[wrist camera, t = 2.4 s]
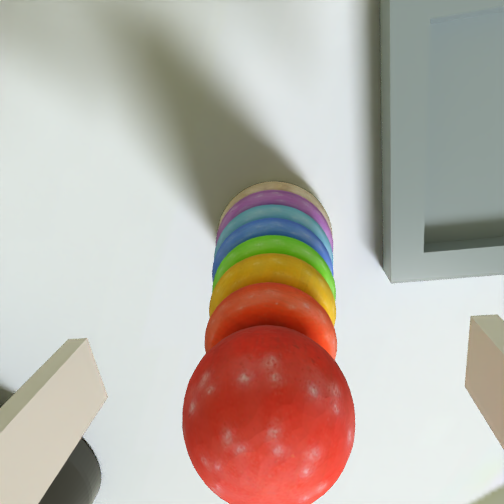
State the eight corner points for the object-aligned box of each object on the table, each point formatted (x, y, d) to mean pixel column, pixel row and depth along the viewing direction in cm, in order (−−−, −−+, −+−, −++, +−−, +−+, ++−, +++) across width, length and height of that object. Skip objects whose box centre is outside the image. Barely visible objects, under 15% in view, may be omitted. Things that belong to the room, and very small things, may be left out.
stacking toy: (227, 286, 28) (122, 578, 10) (213, 183, 25) (39, 345, 8) (331, 282, 27) (409, 596, 9) (329, 174, 24) (435, 337, 7)
